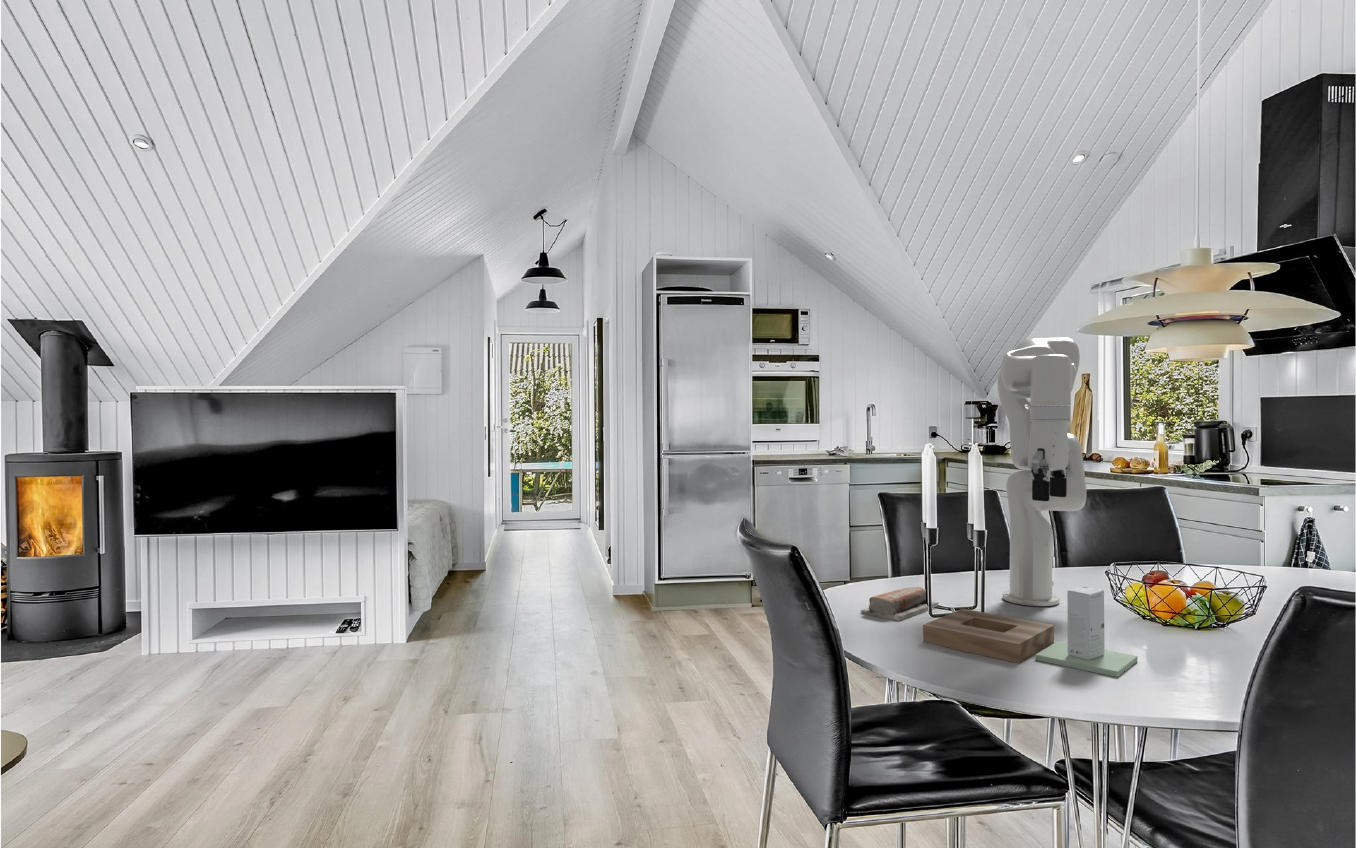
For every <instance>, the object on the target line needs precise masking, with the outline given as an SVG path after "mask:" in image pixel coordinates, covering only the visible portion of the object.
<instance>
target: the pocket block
mask: <svg viewBox="0 0 1356 848" xmlns="http://www.w3.org/2000/svg"><path fill="white" fill-rule="evenodd" d="M924 642H926V643H925V644H929V643H930V644H929V645H934V646H938V645H939V646H938V647H943V648H947V647H949V648H948V649H953V650H958V651H961V650H962V651H963V652H966V653H970V652H972V654H976V655H980V654H981V655H980V656H984V657H985V656H986V657H989V658H994V659H999V660H1004V661H1007V662H1013V663H1017V664H1021V662H1024V661H1025V660H1027V659H1028V658H1030V657H1032V656H1033V655H1036V654H1037V653H1039V652H1041V651H1042V650H1044V649H1046V648H1047V647H1049V646H1051V645H1052V644H1054V643H1055V625H1054V624H1050V623H1046V622H1038V621H1034V620H1029V619H1023V618H1017V617H1013V616H1007V615H1006V616H1005V615H1001V614H996V613H995V614H994V613H991V612H984V611H977V610H973V609H967V608H959V609H958V610H956V611H953V612H950V613H949V614H946V615H943V616H941V617H939V618H937V619H934V620H931V621H929V622H927V623H925V624H922V643H924Z"/></svg>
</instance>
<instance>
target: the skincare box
mask: <svg viewBox="0 0 1356 848" xmlns="http://www.w3.org/2000/svg"><path fill="white" fill-rule="evenodd" d="M1066 596H1067V643H1068V655H1071V656H1074V657H1078V658H1082V659H1086V660H1090V659H1093V658H1096V657H1099V656H1102V655H1104V653H1105V650H1106V649H1105V589H1099V588H1093V587H1087V586H1080V587H1075V588H1071V589H1068V590H1067V595H1066Z"/></svg>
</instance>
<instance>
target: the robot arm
mask: <svg viewBox="0 0 1356 848" xmlns="http://www.w3.org/2000/svg"><path fill="white" fill-rule="evenodd" d="M1080 354H1081V353H1080V349H1079V345H1078V344H1077V342H1076V341H1075V340H1073V339H1072V338H1070V337H1039V338H1037V337H1036V338H1028V339H1024V340H1022V341H1020V342H1019V343H1017V345H1015V348H1014V350H1011V351H1008V352H1007V353H1005V354H1004V355H1003V357H1002V358H1001V363H1000V372H999V373H998V376H997V391H998V392H997V393H998V397H999V400H1000V403H1001V406H1002V409H1003V411H1004V413H1005V416H1006V418H1007V420H1008V425H1009V426H1008V427H1009V442H1010V444H1009V445H1010V457H1011V462H1012V464H1013V465H1014V467H1016V468H1017V469H1019V470H1017V471H1015V472H1013V473H1011V474H1010V475H1009V476H1008V478H1007V480H1006V485H1005V487H1006V495H1007V502H1008V510H1009V512H1008V513H1009V590H1007V591H1005V592H1002V599H1003V600H1005V601H1006V602H1009V603H1012V604H1016V605H1022V606H1029V607H1052V606H1057V605H1058V604H1059V603H1060V598H1059V596H1057V595H1056V594H1053V587H1054V586H1055V582H1054V581H1053V547H1054V546H1053V545H1054V544H1053V543H1054V541H1053V539H1054V535H1053V534H1054V533H1053V528H1052V525H1051V524H1050V522H1049V521H1048V519H1046V517H1044V516H1043V514H1042V513H1041V512H1044V511H1045V512H1047V511H1053V512H1054V511H1055V512H1056V511H1057V512H1077V511H1080V510H1081V509H1083V508H1084V507H1085V505H1086V503H1087V483H1086V475H1085V467H1084V466H1085V465H1084V457H1083V456H1084V455H1083V450H1082V449H1083V448H1082V444H1081V442H1080V440H1079V438H1078V437H1077V436H1076V435H1075V434H1072V433H1070V432H1068V423H1071V421H1072V419H1071V417H1072V416H1071V413H1072V412H1071V410H1072V407H1071V406H1072V405H1071V404H1072V403H1071V402H1072V400H1071V399H1072V391H1073V388H1074V385H1075V380H1076V378H1077V374H1078V370H1079V367H1080V357H1081V356H1080ZM1028 399H1030V401H1029V400H1028Z"/></svg>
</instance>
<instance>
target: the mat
mask: <svg viewBox="0 0 1356 848" xmlns="http://www.w3.org/2000/svg"><path fill="white" fill-rule="evenodd" d="M1034 655H1035V657H1034V658H1035V661H1039V662H1044V663H1049V664H1055V665H1059V666H1061V667H1062V666H1063V667H1066V668H1067V667H1068V668H1071V669H1077V670H1082V671H1087V672H1092V673H1094V674H1095V673H1097V674H1099V675H1100V674H1101V675H1106V676H1111V677H1114V676H1115V677H1114V678H1119V677H1120V676H1121V675H1123V674H1124V673H1125V672H1126V671H1127V669H1128V670H1129V669H1130V668H1132V667H1133V666H1134V665H1135V664H1137V662H1138V657H1139V656H1138V655H1134V654H1128V653H1122V652H1118V651H1113V650H1108V649H1105V653H1104V655H1102V656H1099V657H1096V658H1093V659H1090V660H1086V659H1082V658H1078V657H1074V656H1071V655H1068V642H1066V641H1065V642H1064V641H1060V640H1058V641H1056V642H1054V643H1052V644H1050V645H1049V646H1047V647H1045V648H1044V649H1042V650H1040V651H1039V652H1037V653H1035V654H1034ZM1132 665H1133V666H1132ZM1124 671H1125V672H1124ZM1118 676H1119V677H1118Z"/></svg>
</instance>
